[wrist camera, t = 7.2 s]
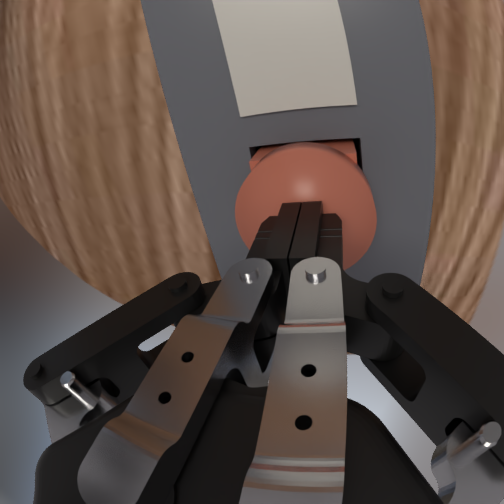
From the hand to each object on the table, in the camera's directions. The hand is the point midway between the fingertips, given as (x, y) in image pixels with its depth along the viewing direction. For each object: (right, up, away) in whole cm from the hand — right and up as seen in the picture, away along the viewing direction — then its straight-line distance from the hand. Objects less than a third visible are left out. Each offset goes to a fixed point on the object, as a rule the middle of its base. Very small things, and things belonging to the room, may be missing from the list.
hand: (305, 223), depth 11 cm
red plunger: (+2, +4, +6) cm, 8 cm away
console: (+1, +12, +3) cm, 12 cm away
